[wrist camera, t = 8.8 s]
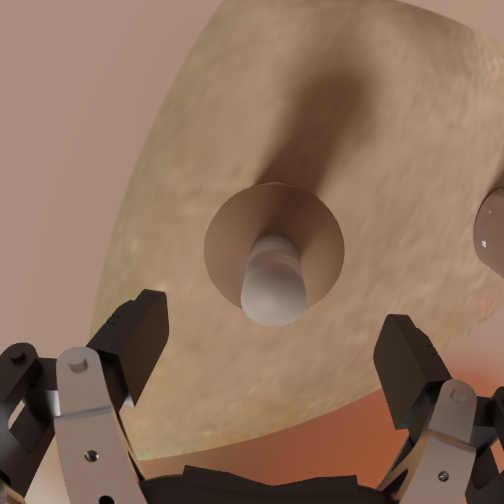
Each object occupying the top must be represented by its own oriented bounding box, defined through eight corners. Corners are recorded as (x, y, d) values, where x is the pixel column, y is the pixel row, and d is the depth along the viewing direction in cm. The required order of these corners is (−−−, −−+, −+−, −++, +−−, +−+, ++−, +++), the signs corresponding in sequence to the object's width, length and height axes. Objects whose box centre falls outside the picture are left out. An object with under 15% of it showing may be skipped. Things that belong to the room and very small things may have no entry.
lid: (351, 191, 15) (386, 217, 10) (328, 313, 17) (342, 372, 13) (209, 177, 15) (177, 196, 10) (206, 302, 18) (184, 358, 13)
